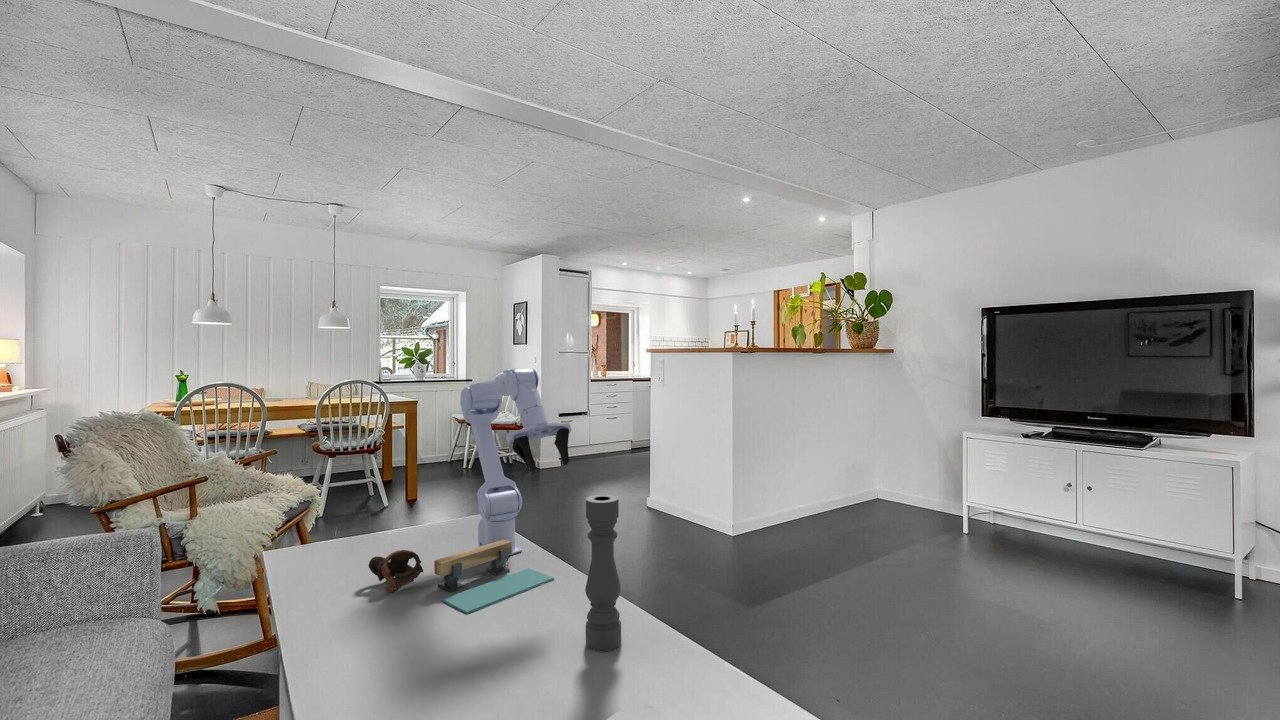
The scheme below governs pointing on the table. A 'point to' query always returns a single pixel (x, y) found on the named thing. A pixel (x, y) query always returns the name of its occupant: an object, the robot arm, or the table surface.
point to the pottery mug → (396, 569)
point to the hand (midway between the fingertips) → (550, 466)
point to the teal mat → (497, 590)
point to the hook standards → (496, 568)
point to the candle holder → (602, 575)
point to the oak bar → (471, 557)
